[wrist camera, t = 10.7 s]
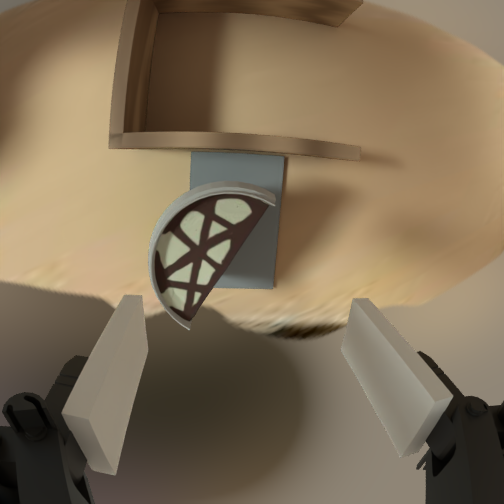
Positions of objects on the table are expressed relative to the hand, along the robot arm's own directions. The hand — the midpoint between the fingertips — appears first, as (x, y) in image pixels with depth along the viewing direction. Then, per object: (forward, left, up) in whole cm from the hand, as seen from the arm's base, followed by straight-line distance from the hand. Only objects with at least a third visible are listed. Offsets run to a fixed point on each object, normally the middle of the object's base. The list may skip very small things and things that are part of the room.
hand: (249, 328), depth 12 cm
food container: (-3, 0, -19) cm, 20 cm away
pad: (0, 0, -20) cm, 20 cm away
